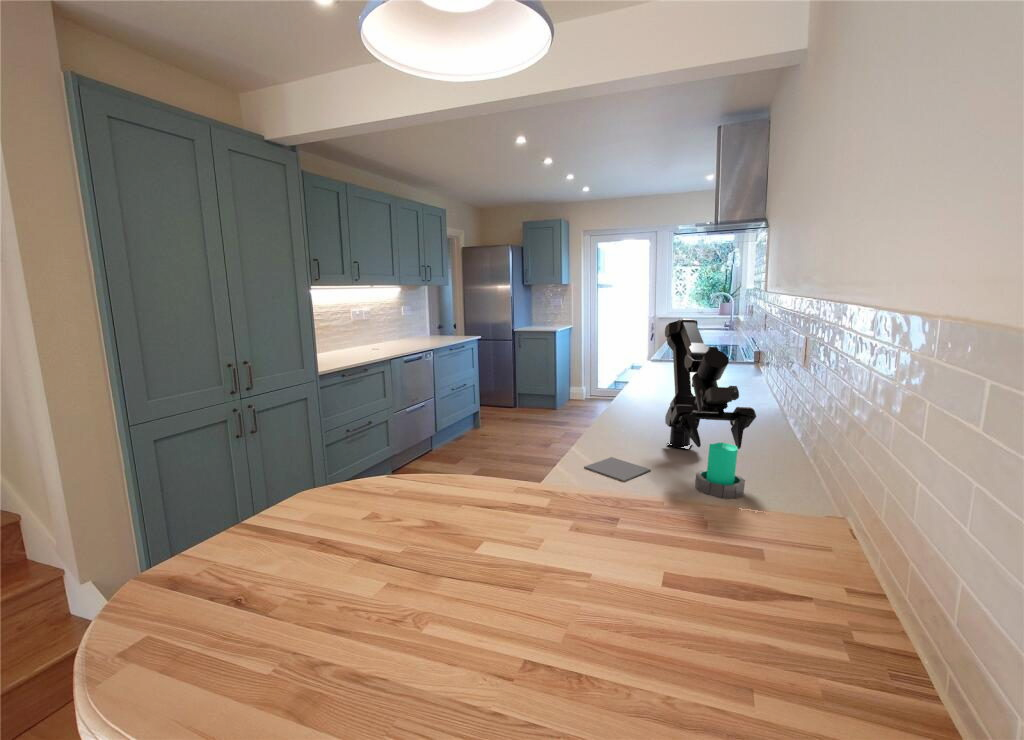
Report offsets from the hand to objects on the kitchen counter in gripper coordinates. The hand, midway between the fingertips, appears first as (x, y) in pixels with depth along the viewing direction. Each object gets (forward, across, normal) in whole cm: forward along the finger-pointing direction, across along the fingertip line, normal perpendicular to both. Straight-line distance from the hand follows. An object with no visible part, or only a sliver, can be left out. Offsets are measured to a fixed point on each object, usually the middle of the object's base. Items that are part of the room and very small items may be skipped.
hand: (719, 447), depth 113 cm
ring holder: (+8, 0, +5) cm, 10 cm away
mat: (+1, -22, +12) cm, 25 cm away
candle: (+8, 0, +5) cm, 10 cm away
